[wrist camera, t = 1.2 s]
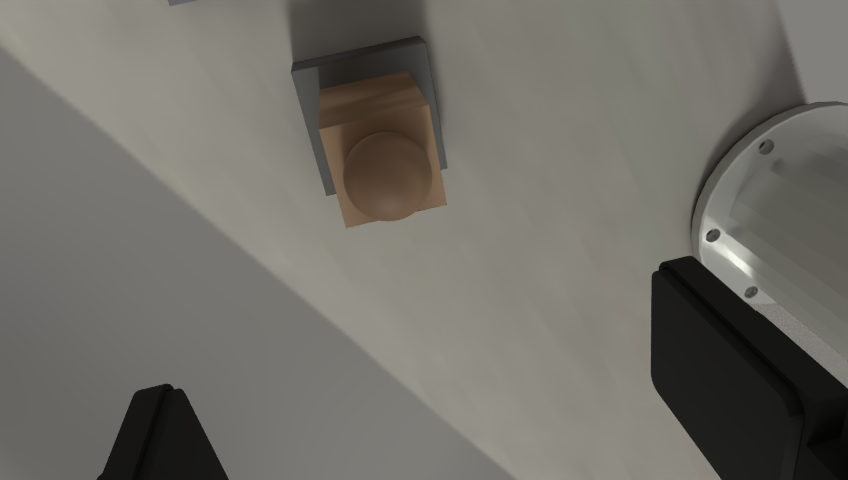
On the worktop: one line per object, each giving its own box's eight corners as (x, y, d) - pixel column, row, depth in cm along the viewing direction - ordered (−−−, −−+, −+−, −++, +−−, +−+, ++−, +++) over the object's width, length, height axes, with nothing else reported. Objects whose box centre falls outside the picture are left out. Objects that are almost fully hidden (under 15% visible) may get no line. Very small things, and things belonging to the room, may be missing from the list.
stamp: (419, 35, 28) (466, 87, 19) (440, 154, 31) (489, 249, 22) (292, 63, 27) (277, 128, 18) (326, 180, 30) (327, 288, 21)
